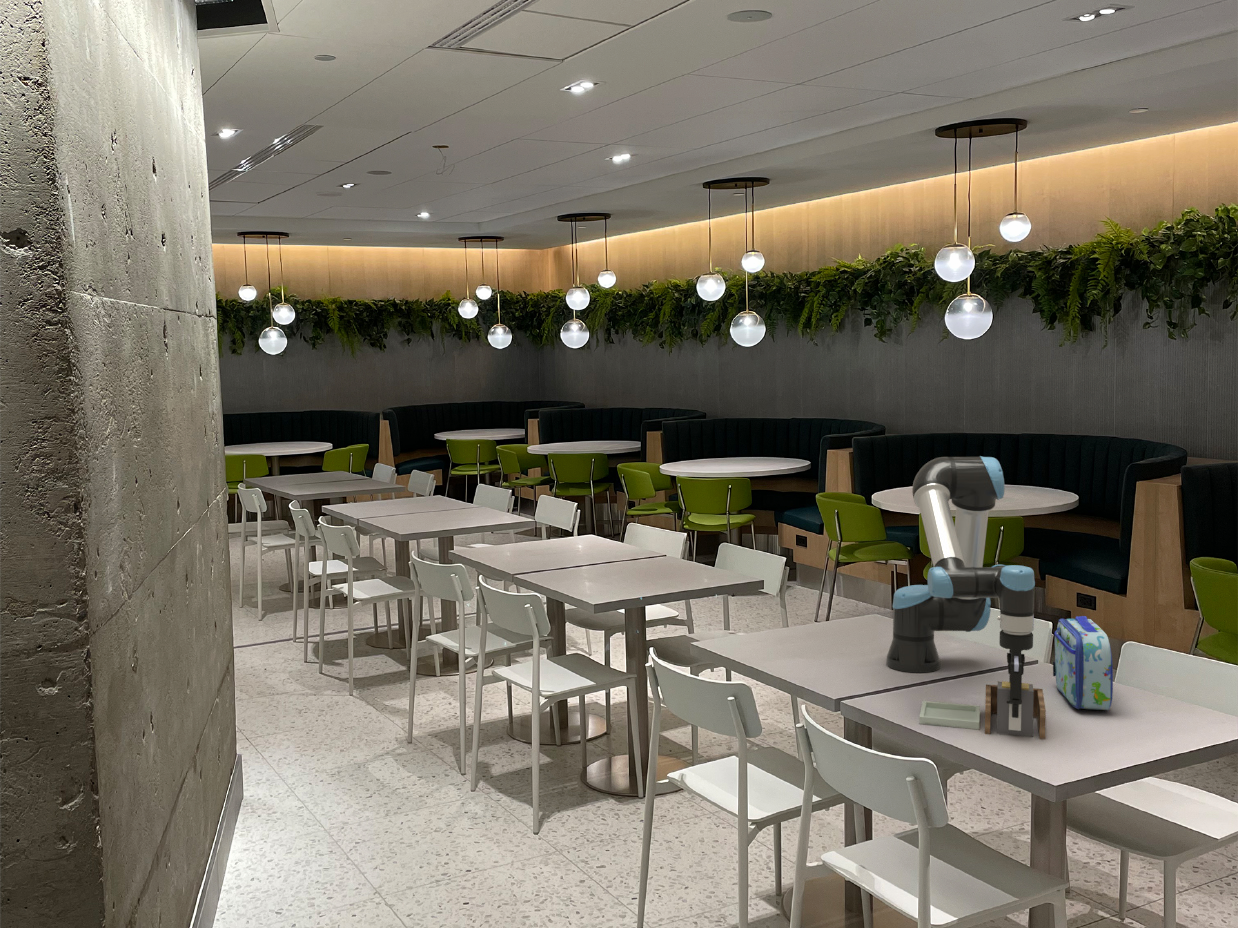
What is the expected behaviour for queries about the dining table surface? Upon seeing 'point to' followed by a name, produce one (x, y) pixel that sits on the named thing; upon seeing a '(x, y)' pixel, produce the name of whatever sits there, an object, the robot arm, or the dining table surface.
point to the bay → (1038, 708)
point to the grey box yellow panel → (1026, 709)
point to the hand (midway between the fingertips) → (1014, 724)
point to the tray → (950, 715)
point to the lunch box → (1083, 664)
